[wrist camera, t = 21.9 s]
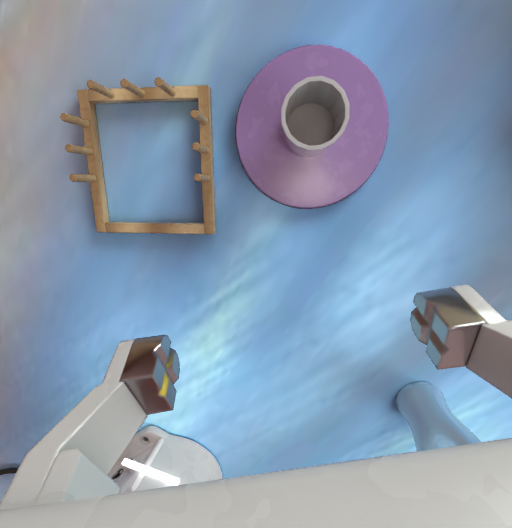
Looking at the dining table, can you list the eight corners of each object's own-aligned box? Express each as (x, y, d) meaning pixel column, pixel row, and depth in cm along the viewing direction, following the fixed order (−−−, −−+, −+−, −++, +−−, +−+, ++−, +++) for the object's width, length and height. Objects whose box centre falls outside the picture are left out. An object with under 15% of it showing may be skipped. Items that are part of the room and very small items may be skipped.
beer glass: (419, 431, 41) (488, 563, 27) (380, 402, 41) (429, 521, 27) (458, 399, 40) (555, 522, 25) (418, 368, 39) (493, 476, 25)
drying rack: (102, 230, 39) (77, 237, 34) (83, 92, 35) (52, 79, 30) (216, 232, 37) (205, 239, 33) (211, 88, 33) (198, 73, 29)
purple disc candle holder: (273, 231, 37) (272, 232, 35) (211, 97, 33) (208, 94, 32) (408, 169, 33) (412, 168, 32) (353, 14, 30) (356, 7, 29)
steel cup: (295, 166, 33) (297, 161, 26) (274, 117, 32) (270, 97, 25) (343, 142, 32) (359, 130, 25) (323, 91, 31) (333, 62, 24)
